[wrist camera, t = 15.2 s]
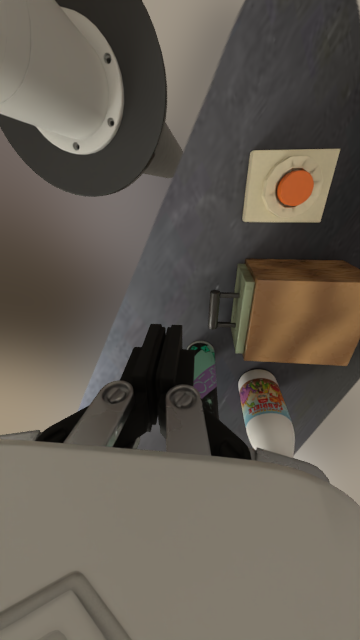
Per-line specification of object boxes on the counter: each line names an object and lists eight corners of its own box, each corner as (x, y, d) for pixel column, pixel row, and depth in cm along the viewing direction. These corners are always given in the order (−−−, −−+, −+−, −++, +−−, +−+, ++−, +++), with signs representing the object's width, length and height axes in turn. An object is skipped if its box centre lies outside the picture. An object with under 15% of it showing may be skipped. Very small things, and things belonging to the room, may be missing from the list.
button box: (242, 219, 34) (246, 223, 30) (250, 152, 30) (256, 148, 26) (313, 220, 33) (326, 224, 30) (331, 151, 29) (349, 146, 26)
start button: (274, 204, 29) (277, 206, 28) (280, 171, 28) (284, 170, 26) (303, 204, 29) (309, 206, 28) (311, 170, 27) (318, 169, 26)
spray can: (215, 361, 47) (222, 462, 30) (189, 363, 48) (181, 462, 31) (212, 339, 45) (218, 436, 27) (184, 342, 46) (173, 437, 28)
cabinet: (236, 326, 43) (243, 360, 35) (245, 258, 37) (257, 280, 28) (318, 330, 42) (347, 366, 33) (343, 260, 35) (385, 283, 27)
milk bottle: (280, 387, 49) (322, 496, 32) (246, 398, 52) (267, 505, 35) (267, 362, 46) (305, 468, 29) (231, 375, 49) (247, 479, 32)
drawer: (206, 325, 42) (207, 352, 35) (210, 263, 36) (212, 280, 30) (308, 329, 41) (329, 357, 34) (328, 265, 35) (358, 284, 28)
